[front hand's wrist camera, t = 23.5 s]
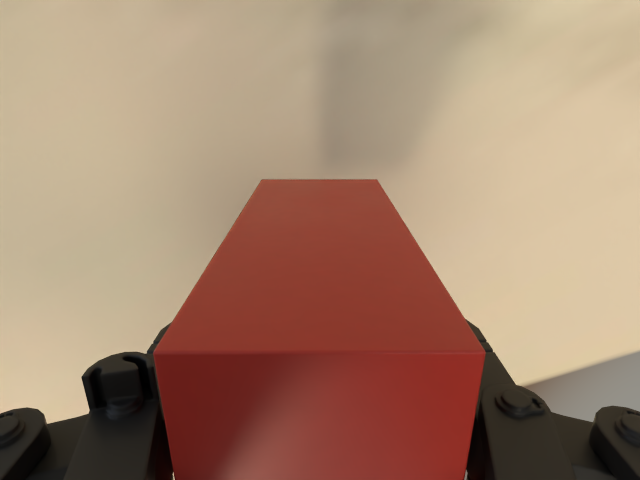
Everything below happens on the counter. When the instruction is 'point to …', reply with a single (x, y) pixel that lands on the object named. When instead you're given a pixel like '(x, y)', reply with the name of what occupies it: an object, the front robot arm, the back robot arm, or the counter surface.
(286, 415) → the brick
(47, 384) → the counter surface
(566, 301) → the counter surface
